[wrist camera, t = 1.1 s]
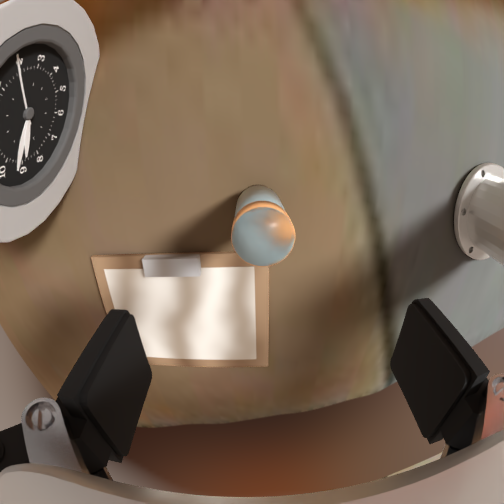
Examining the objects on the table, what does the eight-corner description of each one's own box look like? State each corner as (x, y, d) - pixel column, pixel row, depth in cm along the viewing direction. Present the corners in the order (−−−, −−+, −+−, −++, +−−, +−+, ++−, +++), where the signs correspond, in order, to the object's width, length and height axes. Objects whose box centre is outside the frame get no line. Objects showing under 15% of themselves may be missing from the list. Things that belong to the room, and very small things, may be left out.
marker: (279, 181, 27) (295, 205, 18) (279, 222, 28) (294, 265, 19) (235, 182, 27) (229, 207, 17) (237, 223, 28) (232, 267, 19)
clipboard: (268, 250, 29) (269, 256, 28) (267, 363, 36) (268, 371, 34) (93, 255, 29) (86, 260, 28) (125, 358, 36) (121, 366, 34)
